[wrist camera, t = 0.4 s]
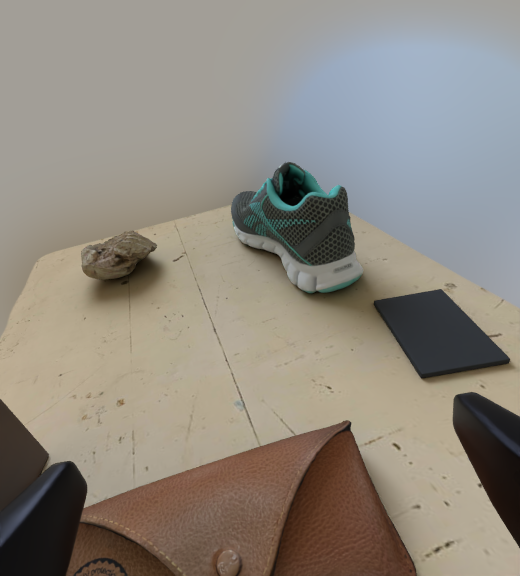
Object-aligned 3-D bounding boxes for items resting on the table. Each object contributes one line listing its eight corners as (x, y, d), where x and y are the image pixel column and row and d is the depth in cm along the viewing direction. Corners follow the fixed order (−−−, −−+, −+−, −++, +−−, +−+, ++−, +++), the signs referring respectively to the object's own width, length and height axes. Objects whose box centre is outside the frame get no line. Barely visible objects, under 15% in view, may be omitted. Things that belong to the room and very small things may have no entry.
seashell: (159, 264, 56) (96, 250, 54) (166, 224, 53) (99, 207, 51) (142, 298, 46) (64, 281, 44) (149, 251, 43) (65, 231, 41)
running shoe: (273, 213, 60) (264, 139, 53) (392, 273, 39) (401, 165, 32) (220, 232, 56) (202, 155, 49) (320, 309, 36) (313, 196, 29)
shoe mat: (509, 363, 27) (510, 358, 26) (421, 378, 27) (421, 374, 26) (440, 292, 35) (441, 288, 35) (373, 304, 35) (373, 300, 35)
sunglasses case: (39, 759, 14) (-10, 606, 13) (96, 598, 21) (64, 495, 20) (433, 583, 16) (401, 452, 16) (365, 494, 23) (341, 401, 23)
